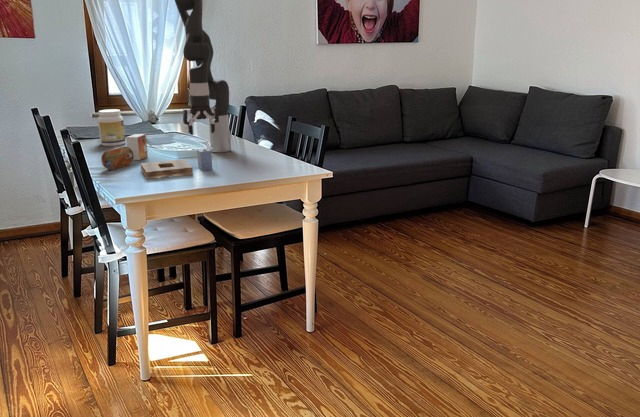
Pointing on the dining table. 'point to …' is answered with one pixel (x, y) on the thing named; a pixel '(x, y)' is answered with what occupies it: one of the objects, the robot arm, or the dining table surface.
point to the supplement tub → (111, 127)
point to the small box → (137, 146)
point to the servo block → (204, 159)
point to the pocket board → (166, 169)
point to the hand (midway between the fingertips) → (201, 133)
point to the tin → (117, 158)
